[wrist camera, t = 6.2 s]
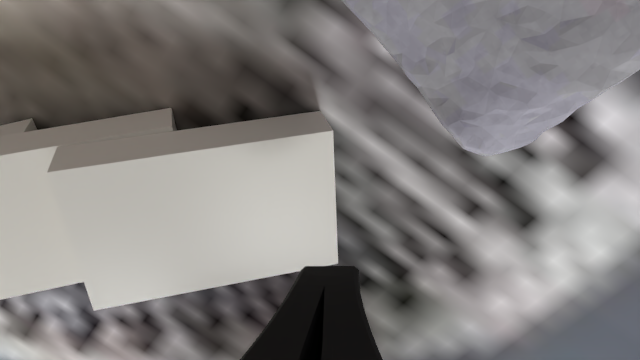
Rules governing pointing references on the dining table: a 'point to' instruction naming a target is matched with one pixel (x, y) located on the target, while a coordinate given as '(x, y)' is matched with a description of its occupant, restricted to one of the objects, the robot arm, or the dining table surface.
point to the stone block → (506, 60)
